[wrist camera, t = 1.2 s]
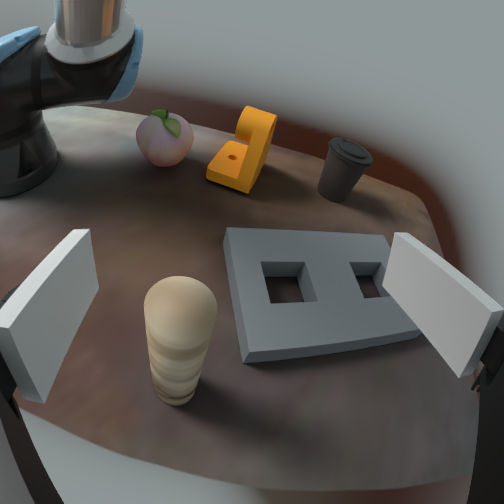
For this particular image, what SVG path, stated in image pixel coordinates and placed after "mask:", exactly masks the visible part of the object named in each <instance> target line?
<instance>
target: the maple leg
mask: <svg viewBox="0 0 504 504" xmlns="http://www.w3.org/2000/svg"><path fill="white" fill-rule="evenodd" d="M144 313H145V323H146V333H147V341H148V350H149V358H150V365H151V380H152V384H153V386H154V391H155V393H156V395H157V396H158V398H159V399H160V400H161V401H163V402H164V403H166V404H169V405H174V406H178V405H183V404H185V403H187V402H188V401H189V400H191V398H192V397H193V395H194V393H195V390H196V388H197V386H198V384H199V378H200V377H199V376H200V372H201V369H202V366H203V362H204V359H205V355H206V352H207V349H208V345H209V342H210V338H211V335H212V332H213V328H214V325H215V322H216V318H217V314H218V306H217V301H216V299H215V296H214V295H213V293H212V292H211V290H210V289H209V288H208V287H207V286H206V285H204V284H203V283H201V282H200V281H198V280H196V279H193V278H190V277H184V276H173V277H168V278H165V279H163V280H161V281H159V282H157V283H156V284H155V285H153V286H152V287H151V289H150V290H149V291H148V293H147V295H146V298H145V301H144Z"/></svg>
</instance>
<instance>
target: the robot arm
mask: <svg viewBox="0 0 504 504" xmlns="http://www.w3.org/2000/svg"><path fill="white" fill-rule="evenodd" d="M126 2H127V0H54V12H55V13H54V14H55V23H53V25H52V26H51V28H50V29H49V31H48V33H47V34H45V35H40V33H41V30H40V29H39V27H38V26H34V27H30V28H25V29H22V30H19V31H16V32H13V33H11V34H8V35H6V36H4V37H1V38H0V197H8V196H13V195H17V194H20V193H22V192H25V191H27V190H29V189H31V188H33V187H35V186H36V185H38V184H39V183H41V182H42V181H43V180H44V179H46V178H47V177H48V176H49V175H50V174H51V172H52V171H53V170H54V168H55V166H56V164H57V159H58V158H57V150H56V145H55V142H54V141H53V139H52V137H51V135H50V133H49V131H48V129H47V127H46V125H45V122H44V120H43V116H42V110H45V109H51V108H57V107H65V106H74V105H84V104H96V103H102V104H105V103H107V102H111V101H118V100H123V99H125V98H126V97H128V96H129V94H130V93H131V92H132V90H133V87H134V85H135V81H136V78H137V74H138V70H139V69H138V68H139V66H138V65H139V63H140V59H141V54H142V46H143V30H142V28H141V27H139V26H135V25H134V21H133V18H132V16H131V15H130V14H129V13H128V12H127V11H126V10H125V8H126ZM382 286H383V287H384V288H385V289H386V291H387V292H388V293H389V294H390V295H391V296H392V297H393V299H394V300H395V301H396V302H397V303H398V304H399V305H400V307H401V308H402V309H403V310H404V311H405V312H406V314H407V315H408V316H409V317H410V318H411V319H412V321H413V322H414V323H415V324H416V325H417V327H418V328H419V329H420V330H421V331H422V333H423V334H424V335H425V336H426V337H427V339H428V340H429V341H430V342H431V344H432V345H433V346H434V347H435V349H436V350H437V351H438V352H439V353H440V355H441V356H442V357H443V359H444V360H445V361H446V362H447V364H448V365H449V366H450V367H451V369H452V370H453V371H454V373H455V374H456V375H457V376H458V378H461V377H464V376H467V375H470V374H473V372H474V370H475V368H476V367H477V365H478V363H479V361H482V363H483V364H484V367H483V369H482V370H481V372H480V374H479V376H478V377H477V379H476V381H475V382H474V384H473V385H472V388H471V390H474V389H475V387H476V386H477V385H480V387H479V388H478V390H477V392H480V407H479V424H478V435H477V445H476V454H475V461H474V468H473V474H472V480H471V486H470V491H469V496H468V500H467V504H504V308H502V307H501V306H500V305H499V304H498V303H497V302H496V301H494V300H493V299H492V298H491V297H490V296H489V295H487V294H486V293H485V292H484V291H483V290H481V289H480V288H479V287H478V286H477V285H475V284H474V283H473V282H472V281H471V280H469V279H468V278H467V277H466V276H464V275H463V274H462V273H460V272H459V271H458V270H457V269H455V268H454V267H453V266H452V265H450V264H449V263H448V262H447V261H445V260H444V259H443V258H441V257H440V256H439V255H437V254H436V253H435V252H433V251H432V250H431V249H429V248H428V247H427V246H425V245H424V244H423V243H421V242H420V241H418V240H417V239H416V238H414V237H413V236H411V235H410V234H409V233H398V232H395V234H394V238H393V243H392V247H391V252H390V256H389V260H388V264H387V268H386V272H385V276H384V280H383V284H382ZM98 289H99V286H98V280H97V275H96V269H95V263H94V256H93V250H92V243H91V235H90V229H74V230H72V231H71V232H70V233H69V234H68V235H67V236H66V237H65V238H64V239H63V240H62V241H61V242H60V243H59V244H58V245H57V246H56V247H55V248H54V249H53V250H52V251H51V253H50V254H49V255H48V256H47V257H46V258H45V259H44V260H43V261H42V262H41V263H40V264H39V265H38V266H37V267H36V268H35V270H34V271H33V272H32V273H31V274H30V275H29V276H28V277H27V278H26V279H25V281H24V282H23V283H22V284H21V285H18V286H17V287H15V288H14V289H12V290H11V291H9V292H8V293H7V294H6V295H5V297H4V298H3V299H2V300H1V302H0V504H64V503H63V501H62V499H61V497H60V496H59V494H58V493H57V490H56V489H55V487H54V485H53V483H52V481H51V479H50V478H49V476H48V474H47V472H46V470H45V468H44V466H43V464H42V462H41V460H40V458H39V456H38V453H37V451H36V449H35V447H34V445H33V442H32V440H31V438H30V435H29V433H28V431H27V428H26V426H25V423H24V421H23V418H22V415H21V413H20V410H19V407H18V404H17V402H16V400H15V399H14V397H13V393H14V391H15V389H16V387H18V389H19V391H20V393H21V394H22V396H23V398H24V399H25V400H29V401H34V402H38V403H43V404H45V402H46V399H47V397H48V394H49V392H50V389H51V387H52V384H53V382H54V380H55V377H56V375H57V373H58V371H59V368H60V366H61V364H62V362H63V359H64V357H65V355H66V353H67V351H68V349H69V346H70V344H71V342H72V340H73V338H74V336H75V334H76V332H77V330H78V328H79V326H80V324H81V322H82V320H83V318H84V316H85V314H86V312H87V310H88V308H89V306H90V304H91V302H92V300H93V299H94V297H95V295H96V293H97V291H98Z"/></svg>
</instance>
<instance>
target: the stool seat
mask: <svg viewBox="0 0 504 504" xmlns="http://www.w3.org/2000/svg"><path fill="white" fill-rule="evenodd" d="M223 249H224V255H225V262H226V268H227V274H228V280H229V287H230V293H231V299H232V305H233V311H234V316H235V322H236V328H237V334H238V340H239V345H240V351H241V357H242V362H243V363H252V362H264V361H274V360H284V359H293V358H301V357H309V356H317V355H324V354H331V353H338V352H344V351H351V350H357V349H363V348H368V347H374V346H379V345H385V344H390V343H395V342H400V341H404V340H409V339H414V338H416V337H417V336H419V335H420V334H421V333H422V331H421V330H420V329H419V328H418V327H417V325H416V324H415V323H414V322H413V321H412V319H411V318H410V317H409V316H408V315H407V314H406V312H405V311H404V310H403V309H402V308H401V307H400V305H399V304H398V303H397V302H396V301H395V300H394V299H393V297H392V296H391V295H390V294H389V293H388V292H387V291H386V289H385V288H384V287H383V286H382V284H383V280H384V276H385V272H386V268H387V264H388V260H389V256H390V252H391V248H390V246H389V245H388V243H387V241H386V239H385V237H384V235H371V234H354V233H337V232H319V231H300V230H279V229H256V228H232V227H227V229H226V233H225V237H224V241H223ZM357 275H371V276H372V278H373V280H374V283H375V285H376V287H377V289H378V292H379V294H380V296H381V297H377V298H364V297H363V294H362V292H361V289H360V287H359V284H358V282H357V280H356V277H355V276H357ZM264 277H297V280H298V283H299V286H300V290H301V293H302V296H303V299H304V302H298V303H275V304H271V303H270V299H269V295H268V291H267V287H266V283H265V278H264Z"/></svg>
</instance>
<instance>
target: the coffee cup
mask: <svg viewBox="0 0 504 504" xmlns="http://www.w3.org/2000/svg"><path fill="white" fill-rule="evenodd" d="M329 147H330V148H329V151H328V154H327V158H326V161H325V164H324V168H323V171H322V174H321V177H320V181H319V184H318V191H319V193H320V194H321V195H322V196H323V197H324V198H326V199H328V200H330V201H333V202H337V203H338V202H343V201H344V200H345V198H346V197H347V196H348V194H349V193H350V191H351V190H352V189H353V187H354V186H355V184H356V183H357V182H358V180H359V179H360V177H361V176H362V174H363V173H364V172H365V170H366V169H367V167H370V166H372V164H373V161H372V160H373V159H372V156H371V155H370V154H369V152H368V151H367V150H366V149H364V148H363V147H361V146H360V145H359V144H357V143H355V142H353V141H350V140H347V139H344V138H333V139H332V140H330V141H329Z"/></svg>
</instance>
